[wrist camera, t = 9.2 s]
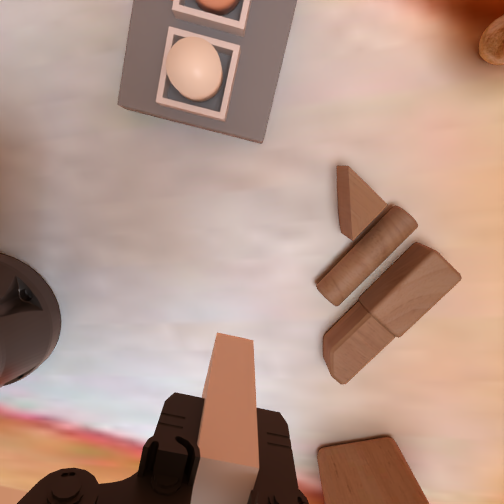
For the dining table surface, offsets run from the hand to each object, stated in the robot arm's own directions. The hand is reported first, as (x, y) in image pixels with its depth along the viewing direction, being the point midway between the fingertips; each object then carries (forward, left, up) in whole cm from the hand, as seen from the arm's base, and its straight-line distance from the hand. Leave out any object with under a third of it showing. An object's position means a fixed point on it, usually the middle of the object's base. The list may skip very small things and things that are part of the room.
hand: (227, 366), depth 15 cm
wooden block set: (+12, -1, -27) cm, 30 cm away
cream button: (-7, +14, -22) cm, 27 cm away
